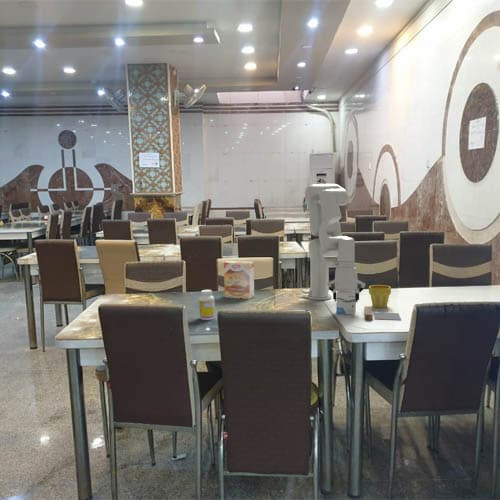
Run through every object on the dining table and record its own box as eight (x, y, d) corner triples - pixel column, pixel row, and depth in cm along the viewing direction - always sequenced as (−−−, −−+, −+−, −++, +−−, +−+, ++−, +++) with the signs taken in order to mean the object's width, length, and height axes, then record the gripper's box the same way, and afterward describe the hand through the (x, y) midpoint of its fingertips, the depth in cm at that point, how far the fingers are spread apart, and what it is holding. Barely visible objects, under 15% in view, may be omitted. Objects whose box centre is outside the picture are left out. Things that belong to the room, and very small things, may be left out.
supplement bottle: (200, 316, 208) (199, 289, 207) (214, 316, 209) (213, 288, 207) (199, 320, 202) (198, 292, 200) (214, 320, 202) (214, 291, 201)
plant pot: (366, 304, 227) (366, 284, 226) (387, 303, 227) (387, 284, 225) (371, 309, 217) (371, 288, 216) (393, 308, 216) (393, 288, 215)
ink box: (335, 313, 210) (336, 282, 208) (337, 311, 214) (337, 280, 212) (354, 314, 207) (355, 282, 205) (356, 312, 211) (356, 281, 210)
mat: (374, 319, 199) (374, 318, 199) (373, 313, 209) (373, 312, 209) (401, 320, 196) (401, 319, 196) (398, 313, 207) (398, 313, 207)
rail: (365, 320, 198) (365, 314, 197) (364, 311, 212) (364, 306, 212) (372, 320, 197) (372, 314, 197) (371, 311, 211) (371, 306, 211)
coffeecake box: (224, 297, 247) (223, 262, 245) (229, 294, 254) (228, 260, 252) (249, 299, 242) (249, 263, 240) (254, 296, 248) (254, 261, 246)
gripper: (326, 265, 206) (326, 302, 208) (365, 265, 202) (365, 303, 204) (327, 263, 213) (327, 299, 215) (365, 263, 210) (365, 300, 211)
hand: (346, 301), depth 210 cm, fingers open, 9 cm apart
